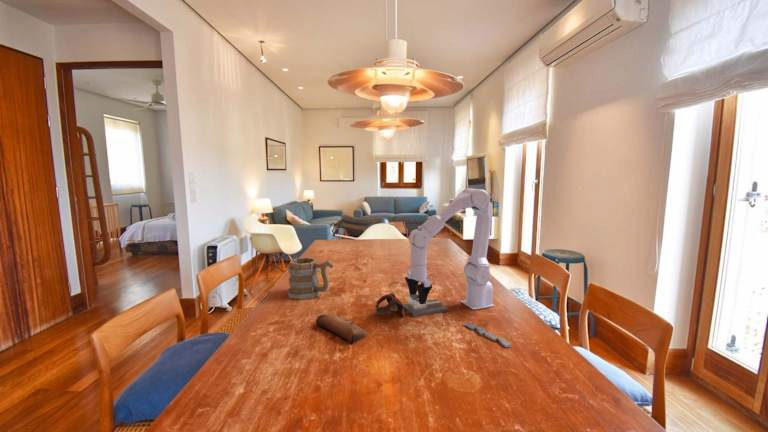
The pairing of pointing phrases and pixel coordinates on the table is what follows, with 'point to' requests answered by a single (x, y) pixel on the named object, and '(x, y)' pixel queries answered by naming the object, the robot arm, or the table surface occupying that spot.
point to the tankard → (307, 278)
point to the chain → (488, 334)
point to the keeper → (432, 307)
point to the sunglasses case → (342, 327)
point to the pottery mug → (389, 305)
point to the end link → (416, 303)
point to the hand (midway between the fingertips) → (417, 299)
